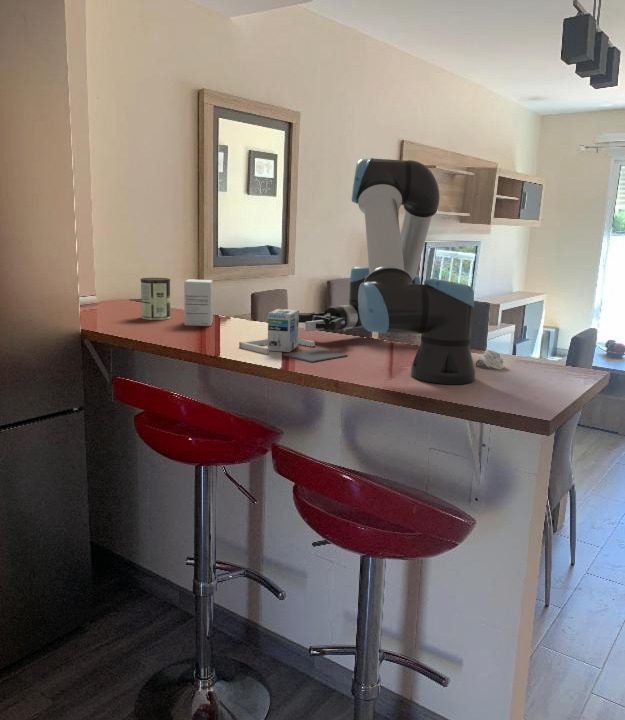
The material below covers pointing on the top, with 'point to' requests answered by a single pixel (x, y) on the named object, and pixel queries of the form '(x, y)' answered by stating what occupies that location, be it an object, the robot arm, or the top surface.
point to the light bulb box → (283, 330)
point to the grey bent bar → (255, 343)
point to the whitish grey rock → (491, 359)
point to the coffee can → (155, 298)
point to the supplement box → (198, 302)
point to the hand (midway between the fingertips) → (289, 323)
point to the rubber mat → (314, 355)
